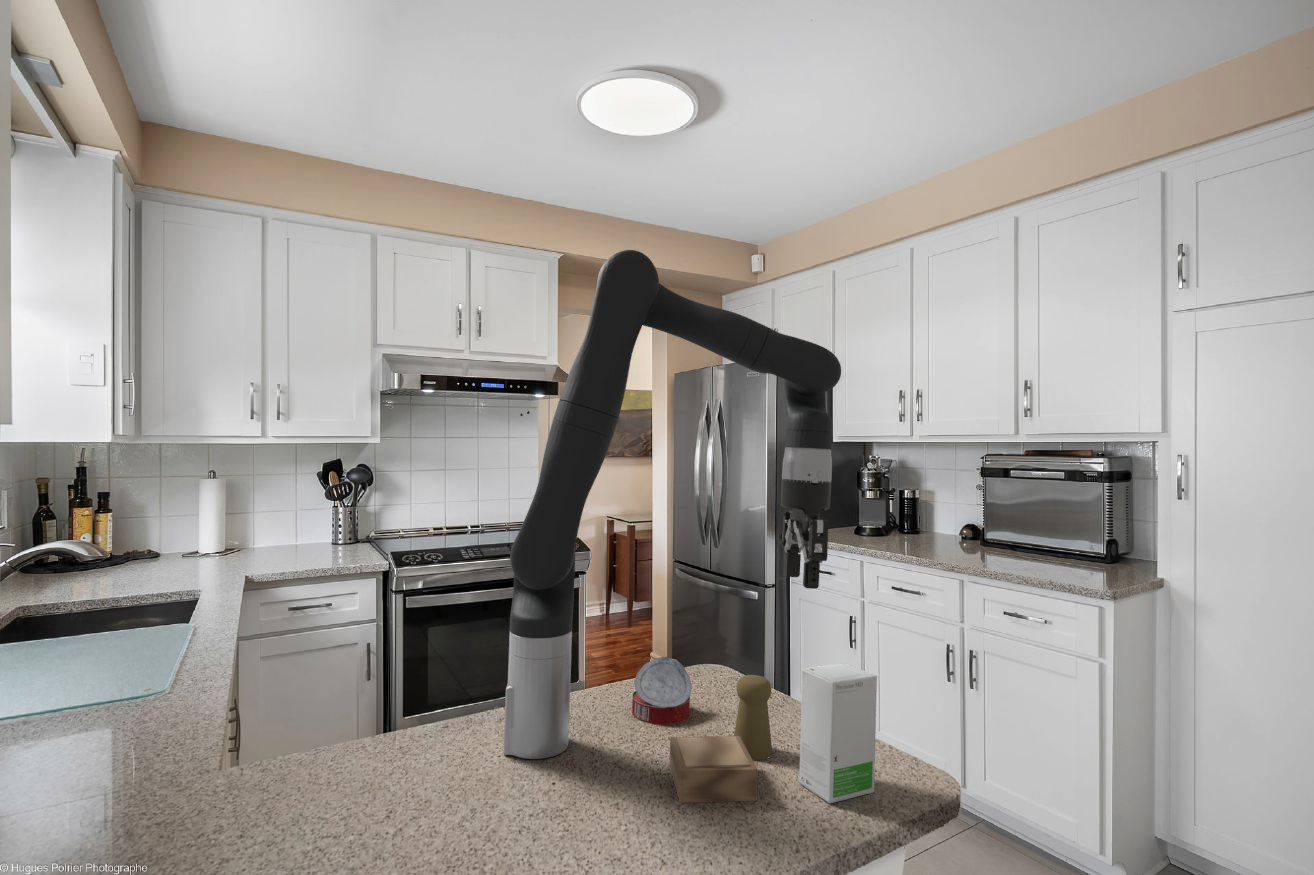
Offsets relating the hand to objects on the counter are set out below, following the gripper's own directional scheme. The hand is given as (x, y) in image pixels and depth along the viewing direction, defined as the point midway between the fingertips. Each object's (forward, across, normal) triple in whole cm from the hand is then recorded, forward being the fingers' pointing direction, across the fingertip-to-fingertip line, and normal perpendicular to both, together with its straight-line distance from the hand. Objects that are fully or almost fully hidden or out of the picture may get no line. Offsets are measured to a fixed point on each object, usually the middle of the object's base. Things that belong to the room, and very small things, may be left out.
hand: (801, 582), depth 104 cm
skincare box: (+25, +13, +2) cm, 28 cm away
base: (+25, +11, -15) cm, 31 cm away
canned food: (+26, -13, -19) cm, 35 cm away
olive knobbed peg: (+25, +2, -7) cm, 26 cm away
